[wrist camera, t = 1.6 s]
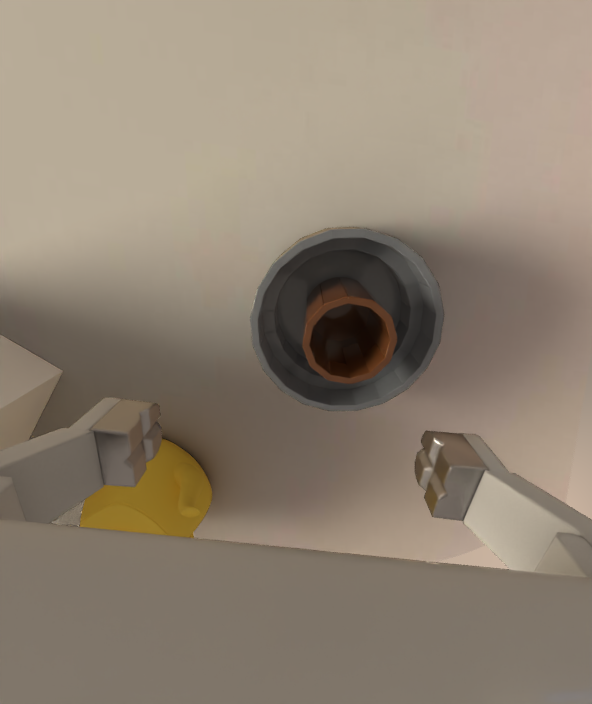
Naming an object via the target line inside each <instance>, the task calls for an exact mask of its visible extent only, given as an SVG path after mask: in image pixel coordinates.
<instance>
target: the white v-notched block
mask: <svg viewBox="0 0 592 704" xmlns="http://www.w3.org/2000/svg"><path fill="white" fill-rule="evenodd" d="M62 372H63V371H62V370H61V369H59V368H57V367H55V366H54V365H52V364H50V363H49V362H47V361H45V360H43V359H42V358H40V357H38V356H37V355H35V354H33V353H31V352H30V351H28V350H26V349H25V348H23V347H21V346H19V345H18V344H16V343H14V342H13V341H11V340H9V339H7V338H6V337H4V336H2V335H0V450H3V449H6V448H9V447H11V446H14V445H17V444H20V443H22V442H25V441H28V440H29V438H30V436H31V434H32V432H33V430H34V428H35V426H36V424H37V422H38V420H39V418H40V416H41V414H42V412H43V410H44V408H45V406H46V404H47V402H48V400H49V398H50V396H51V394H52V392H53V390H54V388H55V386H56V384H57V382H58V380H59V378H60V376H61V374H62Z"/></svg>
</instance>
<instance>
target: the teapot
mask: <svg viewBox="0 0 592 704" xmlns="http://www.w3.org/2000/svg"><path fill="white" fill-rule="evenodd" d="M146 467H147V470H146V471H145V473H144V474H143V476H142V477H141V479H140V480H139V482H138V484H137V485H136V487H124V486H110V485H104V487H103V488H101V489H100V490H98V491H97V492H95V493H94V494H92V495H91V496H89V497H88V498H86V499H85V502H84V506H83V510H82V514H81V521H80V527H88V528H98V529H108V530H118V531H128V532H138V533H148V534H158V535H168V536H178V537H188V538H194V536H193V532H194V531H195V529H196V528H197V527H198V525H199V524H200V523H201V521H202V520H203V518H204V516H205V515H206V513H207V511H208V509H209V506H210V503H211V501H212V490H211V486H210V483H209V480H208V478H207V476H206V474H205V473H204V471H203V469H202V468H201V466H200V465H199V464H198V463H197V461H196V460H195V459H194V458H193V457H192V456H191V455H190V454H188V453H187V452H186V451H184V450H183V449H181V448H180V447H179V446H177V445H175V444H174V443H172V442H170V441H168V440H165V439H162V442H161V445H160V448H159V451H158V453H157V454H156V456H155V458H154V459H152V460H150V461H148V462H147V463H146Z"/></svg>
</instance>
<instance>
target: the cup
mask: <svg viewBox="0 0 592 704" xmlns="http://www.w3.org/2000/svg"><path fill="white" fill-rule="evenodd" d="M396 343H397V334H396V330H395V326H394V322H393V318H392V317H391V315H390V314H389V313H388V312H387V310H386V309H385V308H384V307H383V306H382V305H381V304H380V303H379V301H378V300H377V299H376V298H375V297H374V296H373V295H372V294H371V292H370V291H368V290H367V289H366V288H365V287H364V286H363V285H362V284H361V283H360V282H359V281H357V280H354V279H351V278H347V277H334V278H330V279H327V280H325V281H323V282H321V283H320V284H318V285H317V286H316V287H315V288H314V289H313V290H312V292H311V293H310V295H309V296H308V298H307V300H306V305H305V311H304V320H303V341H302V345H303V349H304V352H305V355H306V357H307V360H308V362H309V365H310V366H311V368H313V369H314V370H315V371H316V372H318V373H319V374H320V375H321V376H323V377H324V378H325V379H327V380H329V381H334V382H339V383H345V384H350V383H351V384H354V383H357V382H360V381H364V380H367V379H371V378H373V377H375V376H376V375H377V374H378V373H379V372H380V371H381V370H382V369H383V368H384V367H385V366H386V365H387V364H389V363H390V361H391V359H392V356H393V353H394V350H395V346H396ZM372 376H373V377H372Z"/></svg>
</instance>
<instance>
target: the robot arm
mask: <svg viewBox="0 0 592 704" xmlns="http://www.w3.org/2000/svg"><path fill="white" fill-rule="evenodd" d="M160 416H161V413H160V406H159V405H158V404H157V403H153V402H145V401H137V400H129V399H121V398H110V397H108V398H104V399H102V400H101V401H100V402H99V403H98V404H97V405H95V406H94V407H93V408H92V409H91V410H89V411H88V412H87V413H86V414H85V415H84V416H82V417H81V418H80V419H79V420H78V421H77V422H75V423H74V424H73V425H72V426H71V427H69V428H61V429H58V430H55V431H53V432H50V433H47V434H44V435H42V436H39V437H36V438H33V439H31V440H28V441H25V442H22V443H20V444H17V445H14V446H11V447H9V448H6V449H3V450H0V704H592V520H591V519H590V518H588V517H586V516H585V515H583V514H581V513H579V512H578V511H576V510H575V509H573V508H572V507H570V506H568V505H567V504H565V503H563V502H562V501H560V500H558V499H557V498H555V497H553V496H552V495H550V494H548V493H547V492H545V491H543V490H542V489H540V488H538V487H537V486H535V485H534V484H532V483H530V482H529V481H527V480H525V479H524V478H522V477H520V476H519V475H517V474H515V473H509V471H508V470H507V469H506V468H505V466H504V465H503V464H502V463H501V462H500V460H499V459H498V458H497V457H496V455H495V454H494V453H493V452H492V450H491V449H490V448H489V447H488V446H487V444H486V443H485V442H484V441H483V439H482V438H481V437H480V436H478V435H476V434H465V433H448V432H436V431H425V433H424V434H423V436H422V439H421V443H422V445H423V447H424V448H423V449H422V450H421V451H419V452H418V453H417V455H416V459H415V476H416V479H417V482H418V484H419V486H420V487H422V488H423V489H424V490H425V491H426V493H425V496H424V499H425V501H426V503H427V506H428V508H429V510H430V513H431V515H432V517H436V518H443V519H451V520H459V521H463V523H464V524H465V525H466V526H467V527H468V528H469V529H470V530H471V531H472V532H473V533H474V534H475V535H476V536H477V537H478V538H479V539H480V540H481V541H482V542H483V543H484V544H485V545H486V546H487V547H488V548H489V549H490V550H491V551H492V552H493V553H494V554H495V555H496V556H497V557H498V558H499V559H500V560H501V561H502V562H503V563H504V564H505V565H506V566H507V567H508V568H509V569H500V568H490V567H479V566H468V565H458V564H448V563H438V562H428V561H419V560H409V559H399V558H389V557H379V556H369V555H360V554H350V553H340V552H330V551H320V550H310V549H300V548H289V547H279V546H269V545H259V544H249V543H239V542H229V541H219V540H208V539H198V538H188V537H178V536H168V535H158V534H148V533H138V532H128V531H118V530H108V529H98V528H88V527H78V526H68V525H58V524H49V523H51V522H52V521H54V520H55V519H57V518H58V517H59V516H61V515H62V514H64V513H65V512H67V511H68V510H70V509H71V508H73V507H74V506H76V505H77V504H79V503H80V502H82V501H83V500H85V499H86V498H88V497H89V496H91V495H92V494H94V493H95V492H97V491H98V490H100V489H101V488H103V487H104V485H110V486H124V487H136V485H137V484H138V482H139V480H140V479H141V477H142V476H143V474H144V473H145V471H146V470H147V467H146V463H147V462H148V461H150V460H152V459H154V458H155V456H156V454H157V453H158V451H159V448H160V445H161V442H162V427H161V426H160V425H159V423H158V422H157V420H158V418H159V417H160Z"/></svg>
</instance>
